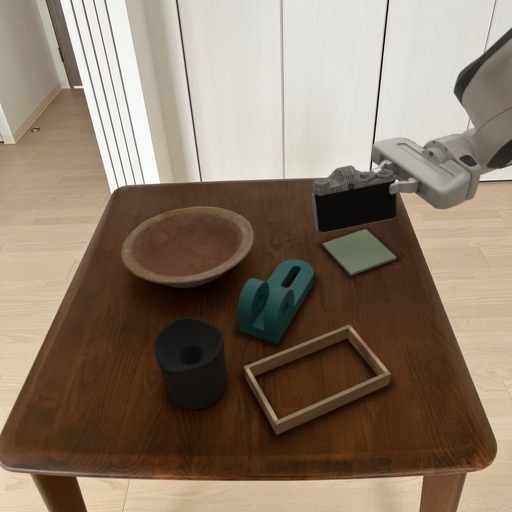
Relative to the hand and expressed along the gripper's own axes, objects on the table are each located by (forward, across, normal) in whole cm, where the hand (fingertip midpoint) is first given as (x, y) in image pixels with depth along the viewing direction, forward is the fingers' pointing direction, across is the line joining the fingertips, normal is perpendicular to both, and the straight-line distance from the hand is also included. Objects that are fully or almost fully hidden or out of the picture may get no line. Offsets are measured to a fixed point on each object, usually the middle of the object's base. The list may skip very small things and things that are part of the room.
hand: (380, 182), depth 88 cm
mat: (+3, 0, +15) cm, 15 cm away
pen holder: (+41, +15, +15) cm, 46 cm away
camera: (+4, -1, +7) cm, 8 cm away
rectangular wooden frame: (+25, +22, +14) cm, 36 cm away
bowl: (+33, -10, +15) cm, 38 cm away
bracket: (+22, +5, +15) cm, 27 cm away
